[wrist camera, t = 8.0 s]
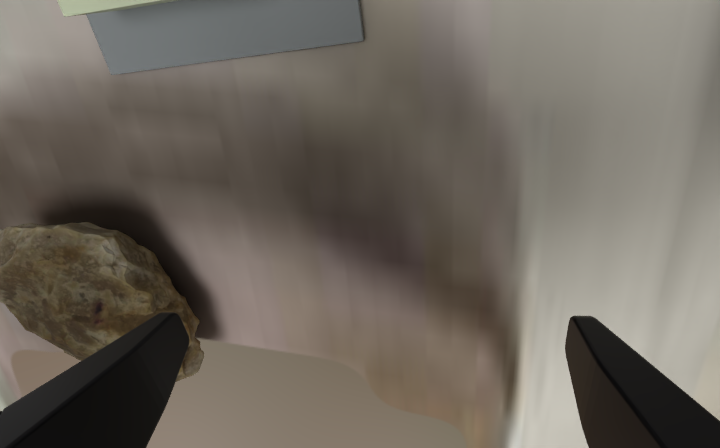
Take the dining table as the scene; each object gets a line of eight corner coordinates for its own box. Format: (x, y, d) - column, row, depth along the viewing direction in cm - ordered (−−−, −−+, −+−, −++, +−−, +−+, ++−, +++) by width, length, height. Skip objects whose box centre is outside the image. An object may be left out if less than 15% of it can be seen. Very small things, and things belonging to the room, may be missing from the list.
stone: (-28, 227, 24) (-87, 282, 17) (110, 165, 26) (106, 194, 20) (105, 372, 30) (100, 457, 23) (208, 312, 32) (230, 372, 25)
